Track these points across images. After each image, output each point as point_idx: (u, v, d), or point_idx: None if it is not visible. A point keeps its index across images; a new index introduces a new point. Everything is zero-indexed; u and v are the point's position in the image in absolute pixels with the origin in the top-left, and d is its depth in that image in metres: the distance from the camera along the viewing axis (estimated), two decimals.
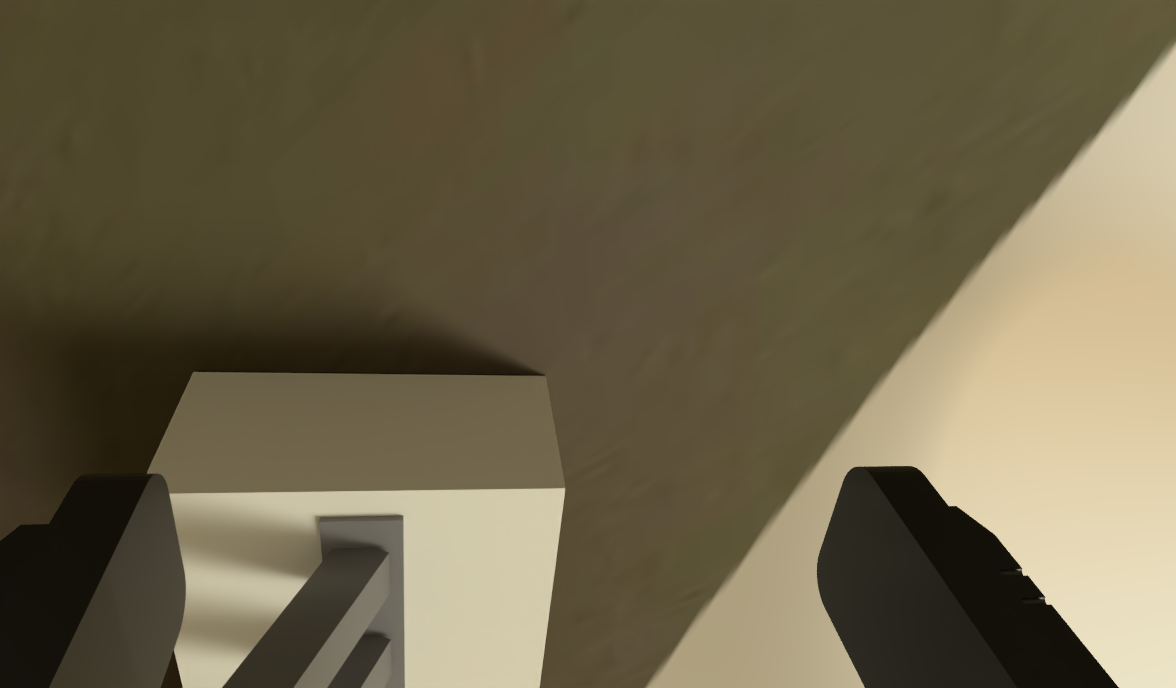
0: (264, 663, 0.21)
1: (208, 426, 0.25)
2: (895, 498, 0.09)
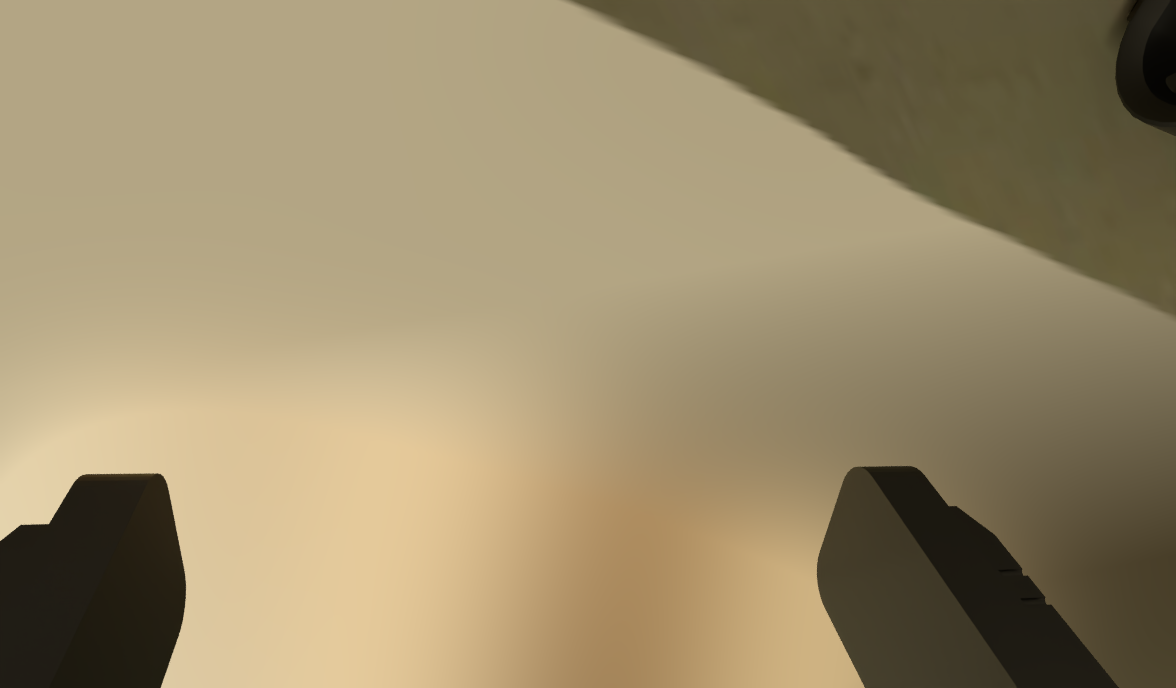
0: None
1: None
2: (895, 498, 0.09)
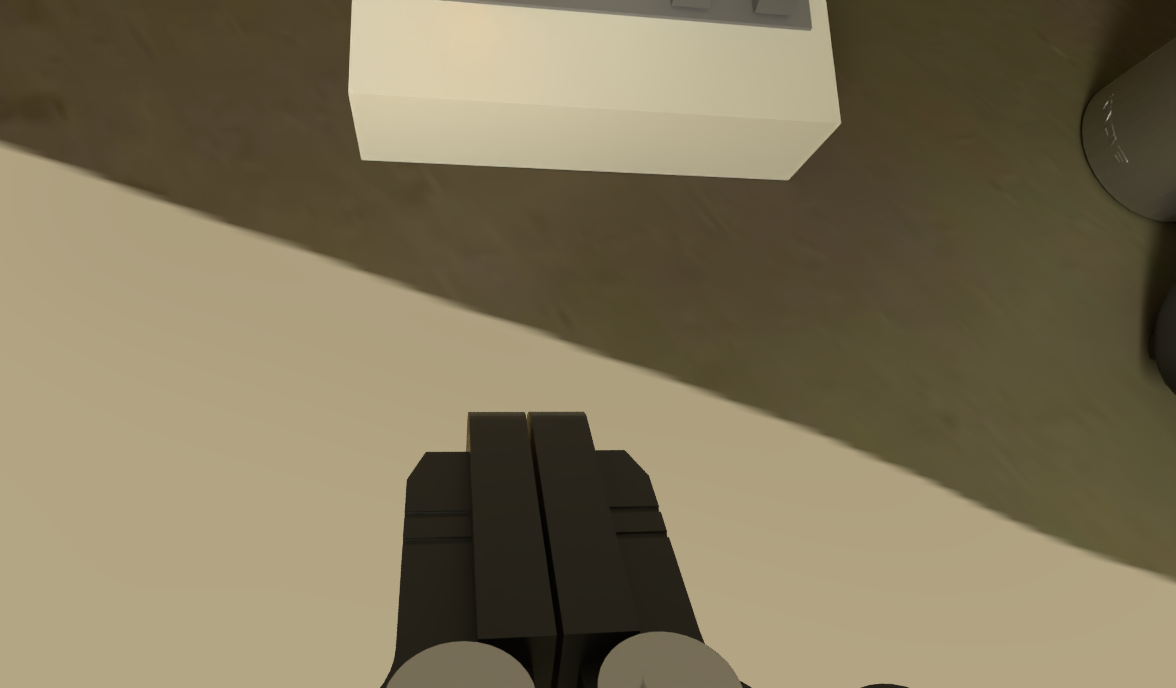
0: None
1: None
2: (543, 438, 0.09)
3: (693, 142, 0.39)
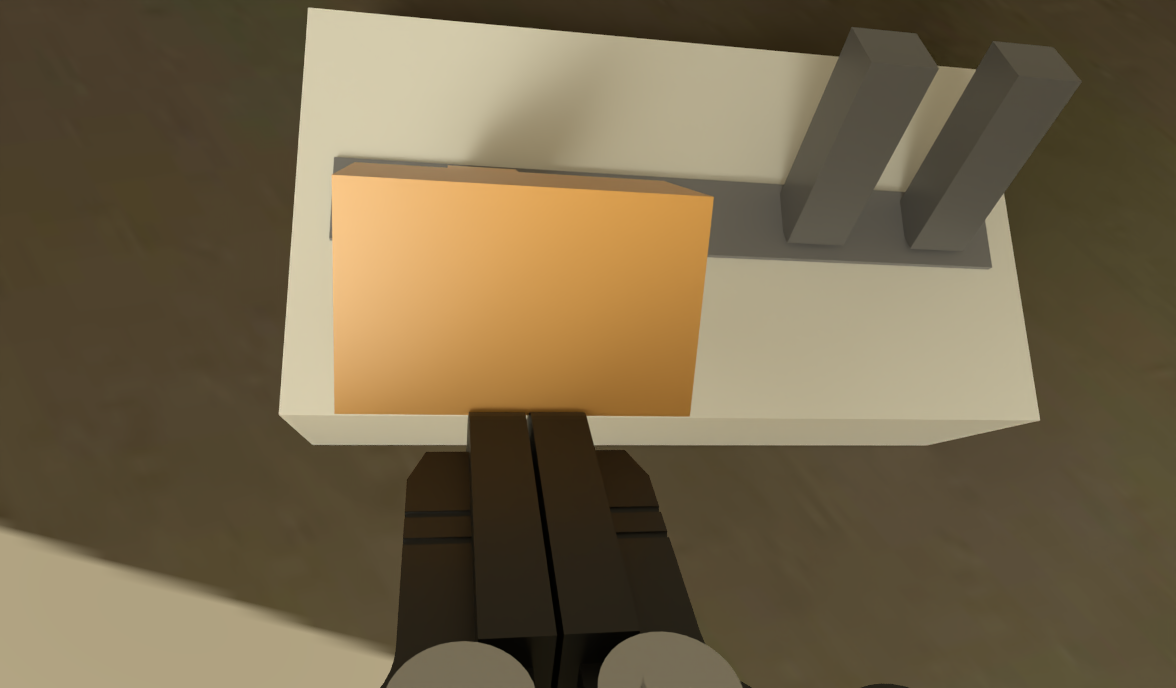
0: None
1: None
2: (543, 438, 0.09)
3: (808, 431, 0.26)
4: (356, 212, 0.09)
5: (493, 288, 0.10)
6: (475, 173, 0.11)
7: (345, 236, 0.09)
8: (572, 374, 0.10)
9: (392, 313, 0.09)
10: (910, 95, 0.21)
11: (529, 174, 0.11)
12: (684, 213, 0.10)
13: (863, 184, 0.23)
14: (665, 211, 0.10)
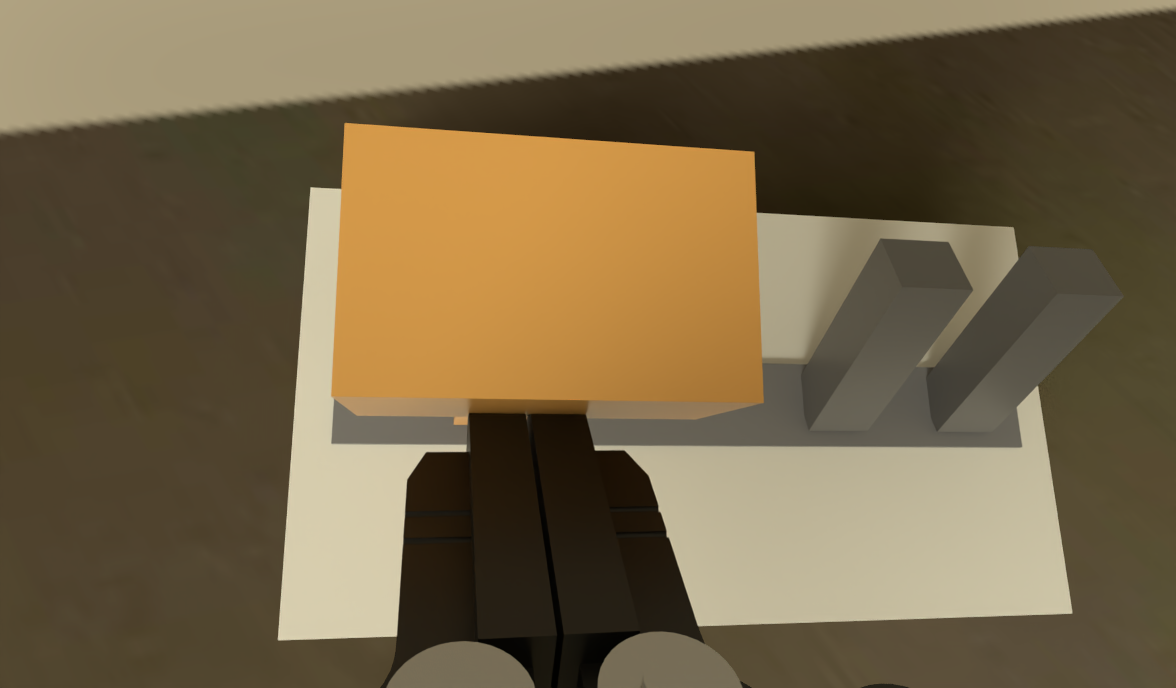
0: None
1: None
2: (543, 438, 0.09)
3: None
4: (369, 161, 0.08)
5: (521, 246, 0.08)
6: None
7: (356, 187, 0.08)
8: (618, 348, 0.08)
9: (406, 274, 0.08)
10: (942, 312, 0.19)
11: None
12: (725, 168, 0.09)
13: (889, 383, 0.22)
14: (704, 166, 0.09)
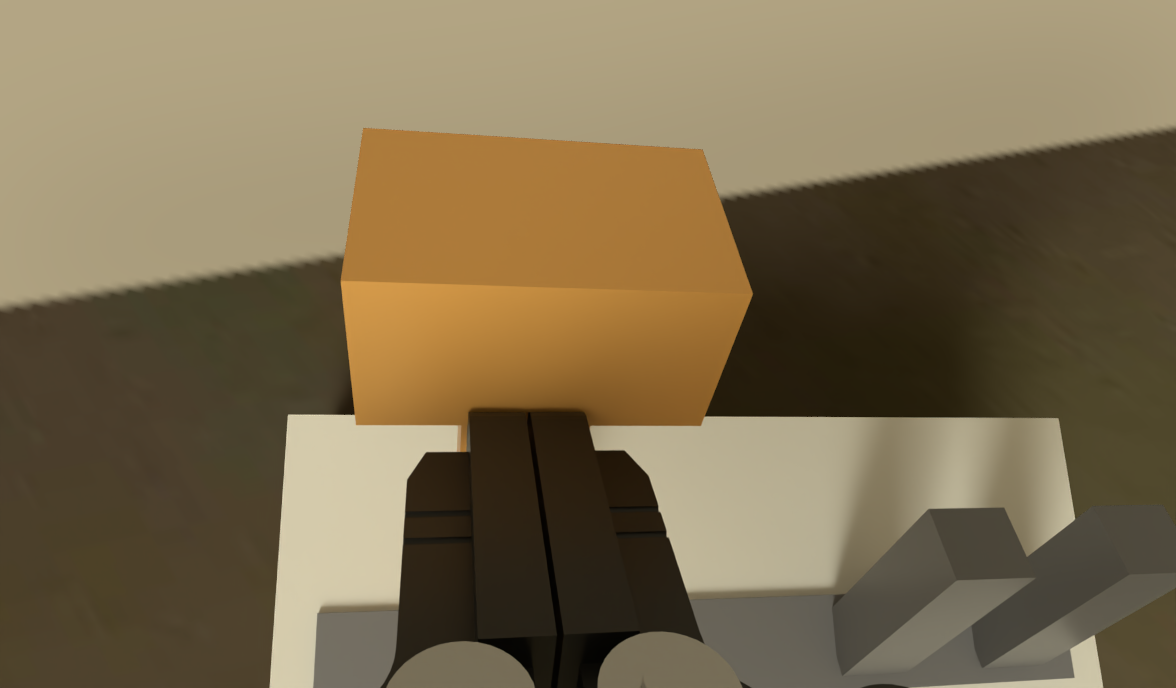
0: None
1: None
2: (543, 438, 0.09)
3: None
4: (383, 147, 0.10)
5: (513, 194, 0.10)
6: None
7: (371, 160, 0.10)
8: (608, 256, 0.09)
9: (412, 207, 0.09)
10: (999, 593, 0.17)
11: None
12: (680, 157, 0.11)
13: (934, 641, 0.19)
14: (663, 156, 0.11)
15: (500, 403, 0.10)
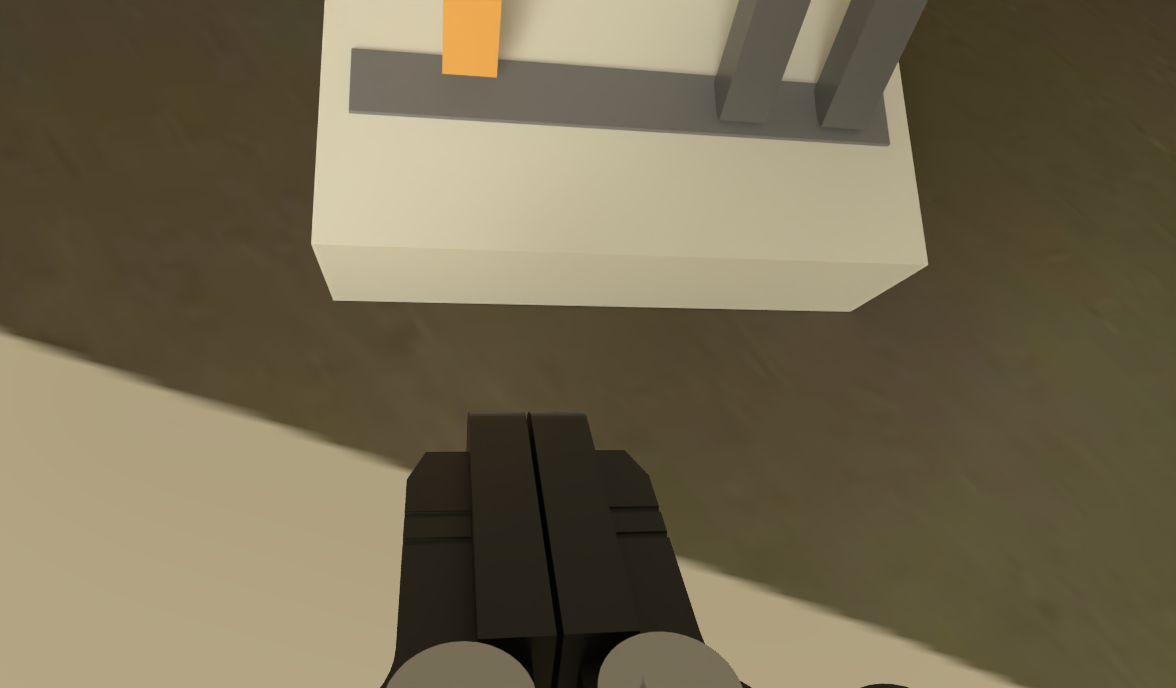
0: None
1: None
2: (543, 438, 0.09)
3: (742, 282, 0.32)
4: None
5: None
6: None
7: None
8: None
9: None
10: None
11: None
12: None
13: (775, 66, 0.28)
14: None
15: None
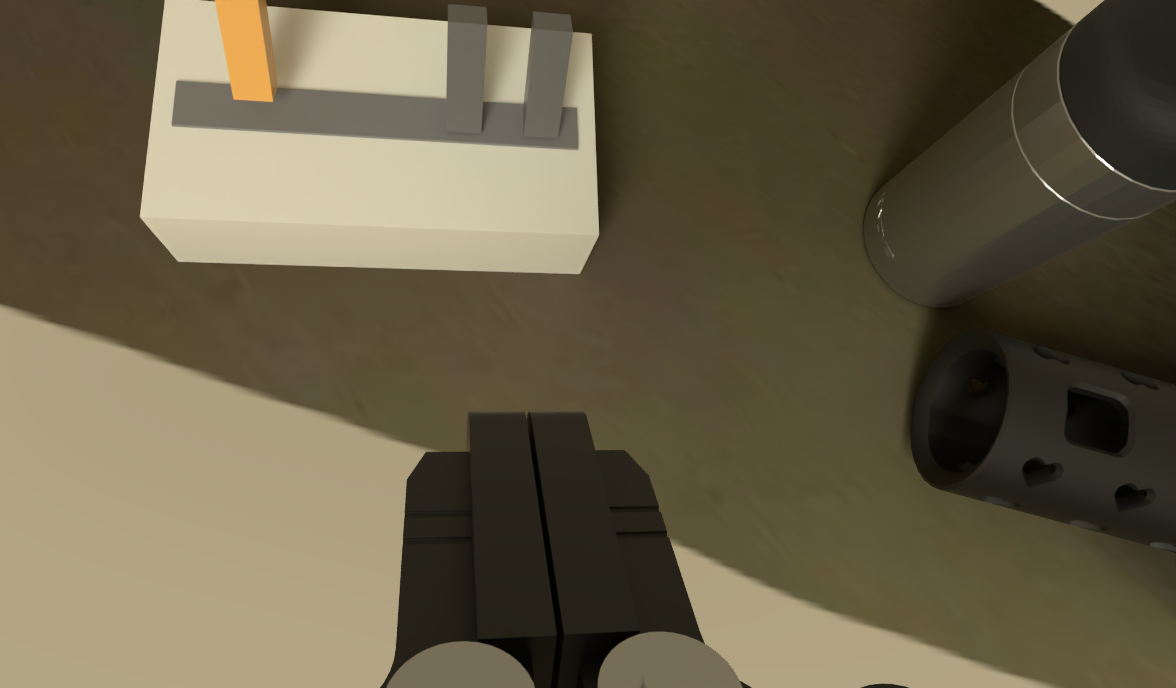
0: None
1: None
2: (543, 438, 0.09)
3: (473, 248, 0.44)
4: None
5: None
6: None
7: None
8: None
9: None
10: (478, 40, 0.38)
11: None
12: None
13: (475, 94, 0.40)
14: None
15: None
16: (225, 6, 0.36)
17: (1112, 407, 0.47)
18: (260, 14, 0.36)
